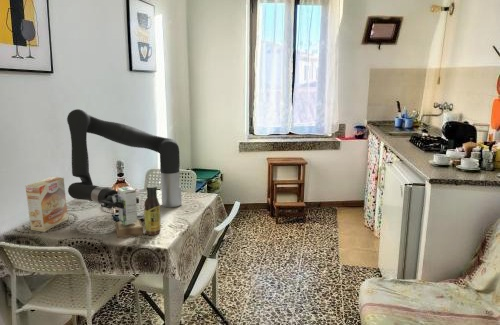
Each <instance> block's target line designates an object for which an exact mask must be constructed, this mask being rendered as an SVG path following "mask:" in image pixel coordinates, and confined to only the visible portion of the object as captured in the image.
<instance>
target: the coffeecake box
mask: <svg viewBox="0 0 500 325" xmlns="http://www.w3.org/2000/svg"><path fill="white" fill-rule="evenodd" d="M24 187H25V193H26V201H27V209H28V217H29V223H30V224H29V225H30V231H37V232H47V231H48V230H51V229H52V228H54V227H56V226H57V225H59V224H62V223H63V222H65V221H67V220H68V219H69V217H68V208H67V199H66V188H65V178H64V177H57V176H56V177H55V176H50V177H46V178H45V179H41V180H39V181H36V182H33V183H30V184H27V185H25V186H24Z"/></svg>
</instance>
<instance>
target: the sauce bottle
mask: <svg viewBox="0 0 500 325" xmlns="http://www.w3.org/2000/svg"><path fill="white" fill-rule="evenodd" d="M157 190H158V187H157V185H156V184H155V185H154V184H152V185H147V186H146V199H145V201H144V205H143V206H144V230H145V231H144V232H145V234H146V235H147V236H153V235H154V236H155V235H158V234H159V233H160V232H161V228H162V226H161V224H162V223H161V205H160V203H159V198H158V194H157V192H158V191H157Z"/></svg>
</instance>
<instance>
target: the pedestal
mask: <svg viewBox="0 0 500 325" xmlns="http://www.w3.org/2000/svg"><path fill="white" fill-rule="evenodd" d="M115 230H116V235H117V238H118V239H120V238H126V237H132V236H133V237H134V236H140V235H141V236H142V235H144V226H143V224H142V220H141V219H140V218H137V223H133V224H129V225H123V224H122V223H121V222H120V221H116V222H115Z"/></svg>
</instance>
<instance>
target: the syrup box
mask: <svg viewBox="0 0 500 325" xmlns="http://www.w3.org/2000/svg"><path fill="white" fill-rule="evenodd" d="M117 192H118V202H121V203H123V204H124V208H123V209H121V208H118V218H119V222H121V223H122V224H123V225H129V224H133V223H137V219H138V211H137V210H138V207H137V206H138V203H136V198H137V191H136V189H135V188H133V187H132V186H121V187H118V188H117Z"/></svg>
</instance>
